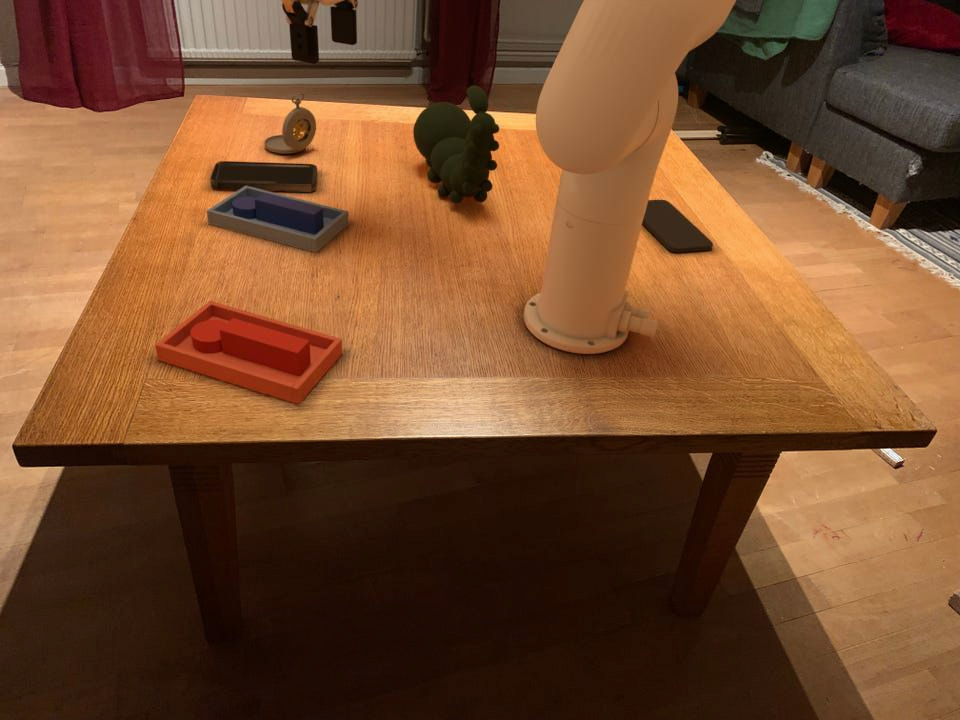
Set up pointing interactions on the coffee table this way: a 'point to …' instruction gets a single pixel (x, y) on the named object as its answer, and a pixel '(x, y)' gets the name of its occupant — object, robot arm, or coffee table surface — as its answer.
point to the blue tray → (284, 235)
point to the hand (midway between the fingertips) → (325, 51)
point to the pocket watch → (294, 120)
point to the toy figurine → (458, 146)
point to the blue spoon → (280, 212)
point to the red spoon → (253, 344)
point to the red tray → (244, 372)
